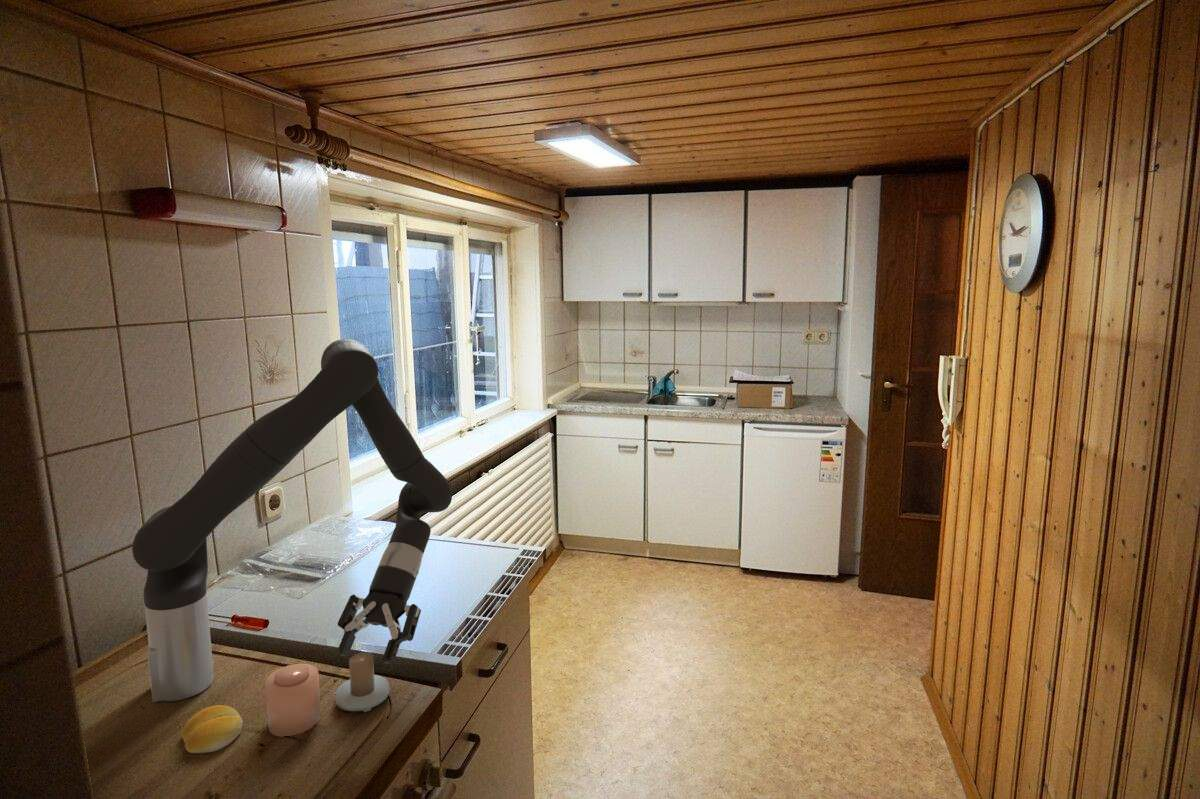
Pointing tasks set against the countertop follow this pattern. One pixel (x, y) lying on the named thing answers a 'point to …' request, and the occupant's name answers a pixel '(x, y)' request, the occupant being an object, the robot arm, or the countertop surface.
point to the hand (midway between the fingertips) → (364, 659)
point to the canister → (292, 699)
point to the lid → (362, 685)
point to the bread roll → (211, 729)
